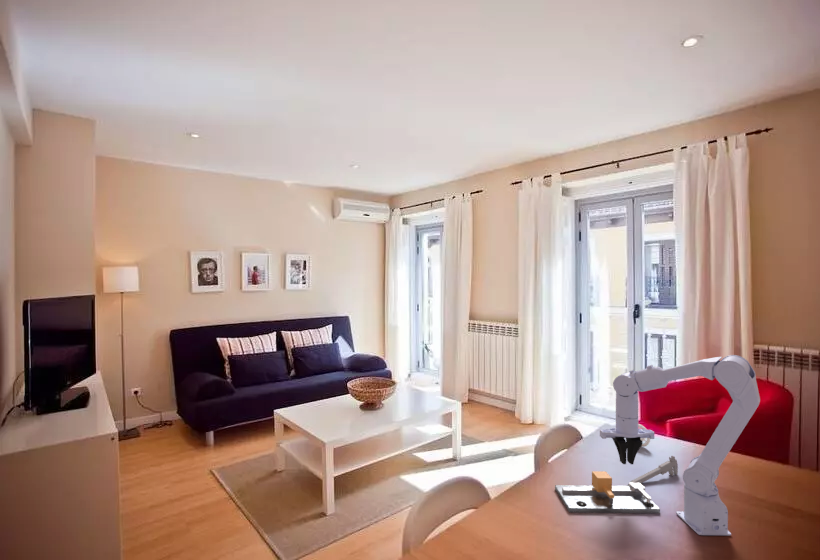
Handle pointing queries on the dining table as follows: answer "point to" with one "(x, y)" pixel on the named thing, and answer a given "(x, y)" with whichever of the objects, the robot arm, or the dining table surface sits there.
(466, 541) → the dining table surface
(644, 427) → the ring around a ball
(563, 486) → the board
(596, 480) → the block
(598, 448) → the dining table surface
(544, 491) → the dining table surface
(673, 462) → the caliper
